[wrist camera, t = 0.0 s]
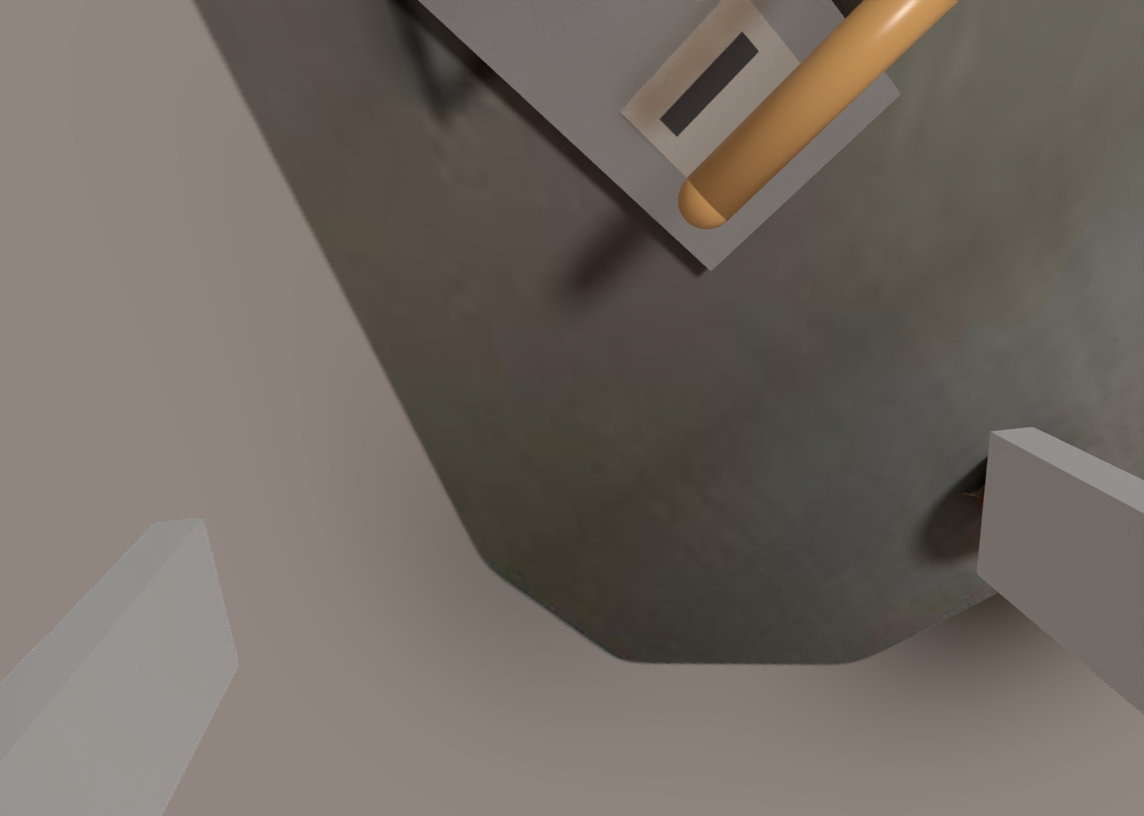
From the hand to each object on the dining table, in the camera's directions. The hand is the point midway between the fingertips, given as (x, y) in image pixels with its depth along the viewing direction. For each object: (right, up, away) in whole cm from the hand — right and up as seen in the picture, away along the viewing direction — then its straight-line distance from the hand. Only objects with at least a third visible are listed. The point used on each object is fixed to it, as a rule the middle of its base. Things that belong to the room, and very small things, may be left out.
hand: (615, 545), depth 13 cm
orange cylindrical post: (+10, +17, +17) cm, 26 cm away
